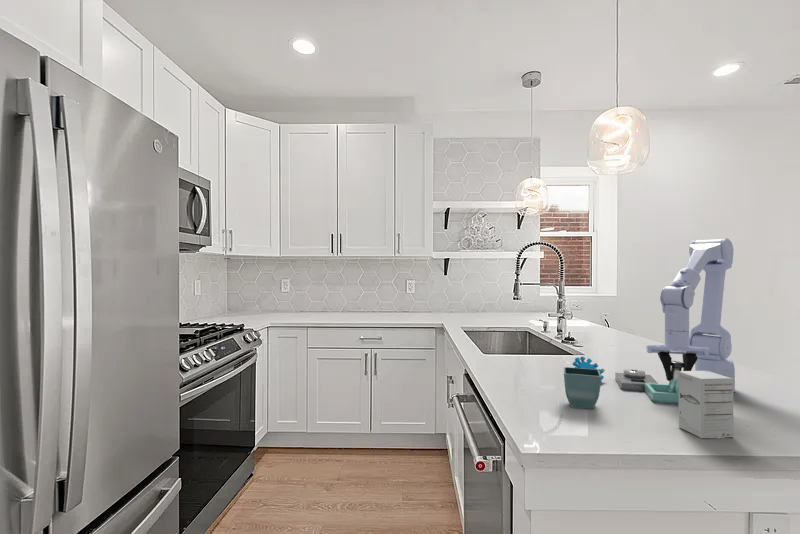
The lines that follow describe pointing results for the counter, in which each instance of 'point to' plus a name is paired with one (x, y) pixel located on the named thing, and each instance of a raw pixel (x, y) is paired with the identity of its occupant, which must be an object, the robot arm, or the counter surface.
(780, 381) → the counter surface
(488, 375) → the counter surface
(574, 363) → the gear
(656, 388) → the tray
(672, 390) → the pin
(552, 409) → the counter surface
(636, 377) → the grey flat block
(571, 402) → the flower pot
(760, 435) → the counter surface
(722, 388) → the supplement box
